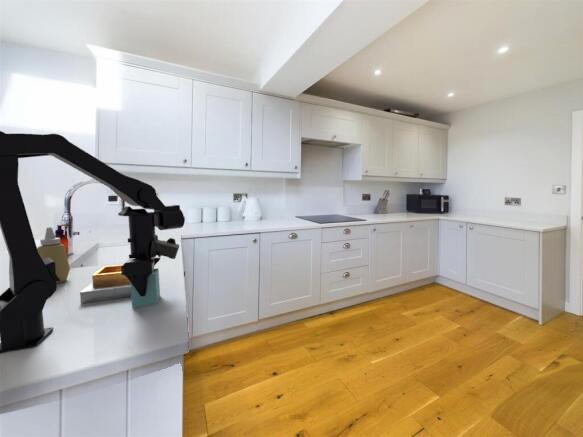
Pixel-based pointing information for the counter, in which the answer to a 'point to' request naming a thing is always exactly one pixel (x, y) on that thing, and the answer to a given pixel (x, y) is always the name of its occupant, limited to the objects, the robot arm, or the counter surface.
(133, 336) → the counter surface
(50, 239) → the squeeze bottle
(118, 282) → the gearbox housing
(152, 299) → the oil can
